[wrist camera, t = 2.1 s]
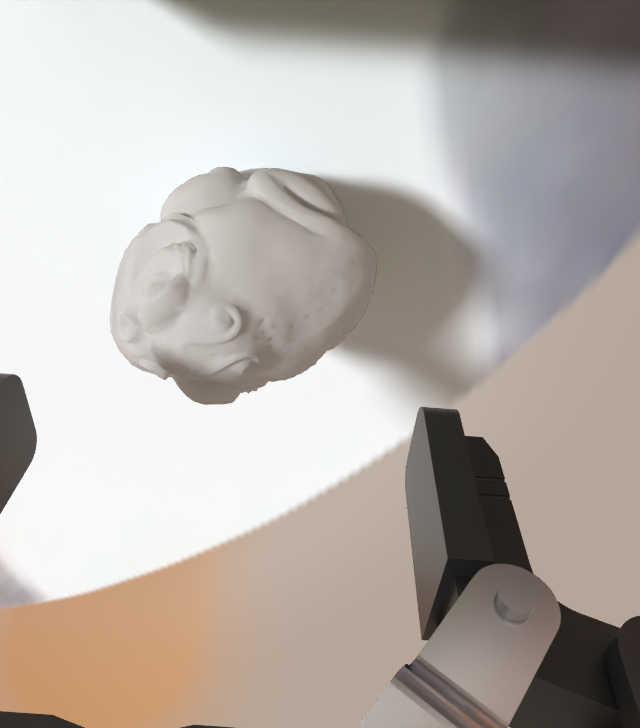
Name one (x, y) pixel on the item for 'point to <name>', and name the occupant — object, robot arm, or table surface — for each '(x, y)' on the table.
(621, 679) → the robot arm
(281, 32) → the table surface
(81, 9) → the table surface
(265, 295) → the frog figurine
